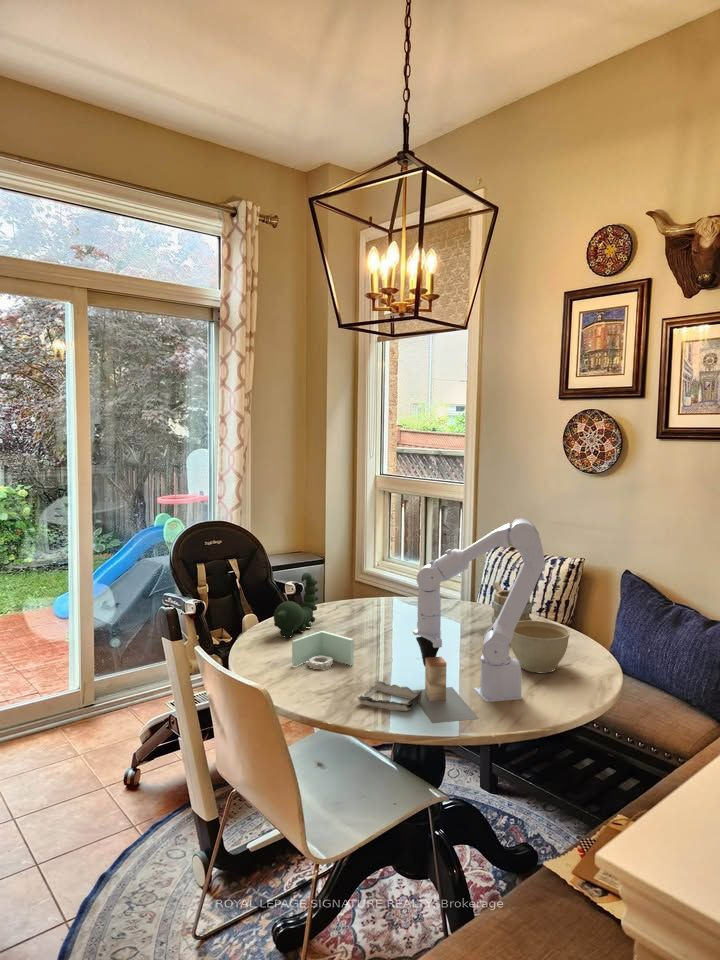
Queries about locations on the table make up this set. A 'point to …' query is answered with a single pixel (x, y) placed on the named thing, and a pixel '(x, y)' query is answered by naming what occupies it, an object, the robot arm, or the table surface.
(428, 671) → the birch block
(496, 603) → the tankard
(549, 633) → the planter bowl
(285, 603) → the toy figurine
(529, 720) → the table surface
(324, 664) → the l-shaped corner panel
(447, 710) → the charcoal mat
